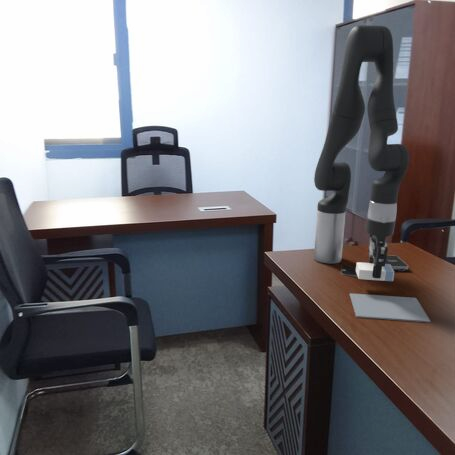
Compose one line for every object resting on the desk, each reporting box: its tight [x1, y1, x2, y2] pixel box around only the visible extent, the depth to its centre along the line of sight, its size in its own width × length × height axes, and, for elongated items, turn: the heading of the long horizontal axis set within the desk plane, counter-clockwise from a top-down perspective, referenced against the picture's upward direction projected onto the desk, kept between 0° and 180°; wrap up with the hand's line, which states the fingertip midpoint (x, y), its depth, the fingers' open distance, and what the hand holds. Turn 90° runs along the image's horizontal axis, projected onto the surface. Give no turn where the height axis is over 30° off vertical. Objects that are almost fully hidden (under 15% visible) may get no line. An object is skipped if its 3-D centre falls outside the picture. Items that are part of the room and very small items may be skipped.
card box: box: [355, 261, 395, 282], centre depth 134 cm, size 10×6×3 cm, turn 83°
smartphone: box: [340, 265, 358, 278], centre depth 148 cm, size 8×1×15 cm
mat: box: [349, 293, 431, 323], centre depth 124 cm, size 14×18×1 cm
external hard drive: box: [378, 254, 409, 272], centre depth 155 cm, size 7×11×2 cm, turn 1°
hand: (374, 273), depth 134 cm, fingers closed on card box, 5 cm apart
